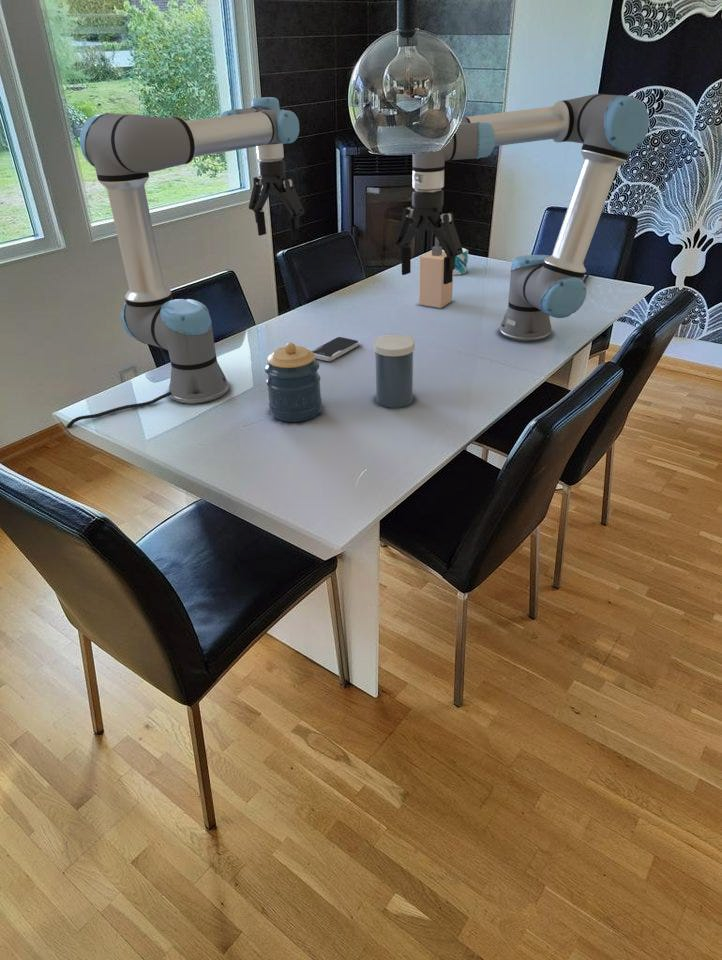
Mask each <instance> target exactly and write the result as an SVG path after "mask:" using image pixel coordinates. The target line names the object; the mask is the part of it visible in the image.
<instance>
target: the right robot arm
mask: <svg viewBox="0 0 722 960" xmlns="http://www.w3.org/2000/svg"><path fill="white" fill-rule="evenodd" d="M649 115H650V114H649V112H648V110H647V107H646V104H644V102H643V101H642V100H640V99H639V98H636V97H633V96H629V95H625V94H605V93H604V94H603V93H594V94H588V95H584V96H580V97H575V98H570V99H564V100H557V101H556V102H554V104H553V105H551V106H545V107H544V106H543V107H536V108H528V109H520V110H510V111H502V112H496V113H495V112H494V113H486V114H478V115H471V116H462V117H461V118H462V121H461V123H460V125H459V127H458V129H457V131H456V133H455V134H454V136H453V137H452V139H451V140H450V142H449V143H448V144H447V145H446V146H445V147H444V148H443V149H442V150H439V151H436V152H431V153H424V154H413V153H412V177H411V178H412V182H411V183H412V185H411V187H412V188H413V191H412V192H411V206H409V207H405V208H403V209H402V217H401V220H400V223H399V226H398V227H397V230H396V233H395V235H394V238H393V241H392V243H393V245H394V246H398V248H399V260H400V261H401V275H402V276H406V275H409V274H411V269H412V268H411V267H412V265H411V264H412V263H411V261H412V260H411V259H412V257H411V255H412V254H411V253H412V252H411V251H412V248H411V247H410V244H411V242H412V241H413V239H414V238H415V237H416V235H417V234H418V232H419V231H426V232H431V233H432V234H433V235H434V237H437V239H438V241H439V245H440V246H442V251H443V252H445V253H446V255H447V256H446V257H444V277H443V284H448V283H450V282H452V274H453V270H454V269H455V258H456V256H457V255H460V254H462V253H463V250H462V248H463V247H462V244H461V241H460V238H459V234H458V232H457V228H456V226H455V223H454V213H452V212H448V213H443V207H444V196H445V195H444V193H445V192H444V190H443V188H444V187H445V162H446V161H448V162H449V161H457V160H458V161H459V160H474V159H475V160H478V159H482V158H487V157H489V156H490V155H491V154H492V153H493V150H494V148H495V147H501V146H508V145H517V144H524V143H531V142H532V143H533V142H539V141H546V140H547V141H548V140H552V141H553V142H555V143H564V142H565V143H566V142H567V143H575V144H576V143H577V144H582V146H581V149H580V152H581V155H582V157H583V162H582V164H581V168H580V171H579V174H578V176H577V180H576V182H575V185H574V188H573V191H572V194H571V197H570V200H569V203H568V206H567V209H566V212H565V215H564V217H563V221H562V224H561V226H560V230H559V233H558V235H557V238H556V241H555V245H554V246H553V250H552V253H551V254H549V255H548V254H529V255H528V254H527V255H521V256H517V257H515V258H514V259H513V260H512V262H511V267H510V277H509V291H508V303H507V309H506V311H505V314H504V316H503V318H502V321H501V322H500V326H499V334H500V335H501V336H502V337H504V338H505V339H507V340H511V341H515V342H522V343H533V342H540V341H545V340H546V339H549V338H550V337H551V335H552V323H551V320H550V317H552V318H555V319H564V318H565V319H566V318H568V317H570V316H572V314H575V313H577V311H578V310H580V308H581V307H582V305H583V304H584V302H585V301H586V297H587V288H586V282H587V279H588V277H589V276H590V274H591V271H590V270H588V271H587V269H586V267H585V265H584V261H585V259H586V257H587V253H588V251H589V248H590V245H591V242H592V239H593V237H594V235H595V231H596V229H597V226H598V223H599V220H600V218H601V215H602V213H603V209H604V206H605V204H606V201H607V199H608V195H609V194H610V193H609V192H610V190H611V187H612V184H613V181H614V179H615V176H616V174H617V172H618V171H617V170H618V169H619V167H621V166H622V165H623V164H624V165H625V163H627V161H628V158H629V156H630V153H631V152H632V151H635V150H636V149H637V148H638V147H639V146H641V144H642V143H643V141H645V139H646V137H647V135H648V131H649V126H650V116H649ZM413 219H414V221H412V220H413ZM411 222H412V224H411ZM409 227H410V228H409Z"/></svg>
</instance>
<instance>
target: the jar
mask: <svg viewBox="0 0 722 960" xmlns="http://www.w3.org/2000/svg"><path fill="white" fill-rule="evenodd" d="M374 352H375V351H374ZM374 359H375V394H376V395H375V397H376V403H377V404H378V405H380V406H382V407H384V408H389V409H391V408H392V409H398V408H399V409H400V408H404V407H406V406H409V405H410V404H412V403H413V401H414V397H413V396H414V351H413V352H411V353H410V354H407V355H403V356H384V355H380V354H378V353H376V352H375V357H374Z"/></svg>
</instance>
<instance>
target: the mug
mask: <svg viewBox="0 0 722 960" xmlns="http://www.w3.org/2000/svg"><path fill="white" fill-rule="evenodd" d="M462 250H463V253H462V254H460V255H457V256H456V258H455V269H454V270H453V276H457V275H464V274H466V273H467V264H468V263H469V249H467V248H465V247H462Z"/></svg>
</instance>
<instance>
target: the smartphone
mask: <svg viewBox="0 0 722 960" xmlns="http://www.w3.org/2000/svg"><path fill="white" fill-rule="evenodd" d="M357 347H359V340H356V339H351V338H347V337H343V336H337V337H335V338H333V339H332V340H329V341H328V342H325V343H324V344H322V345H320V346H318V347H317V348H314V349H313V350H311V351H312V352H313V353H314V354H315V360H319V361H320V360H321V361H325V362H332V361H334V360H336V359H337V358H340V357H341V356H343V355H344V354H346V353H349V352H350V351H351V350H353V349H355V348H357Z"/></svg>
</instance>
